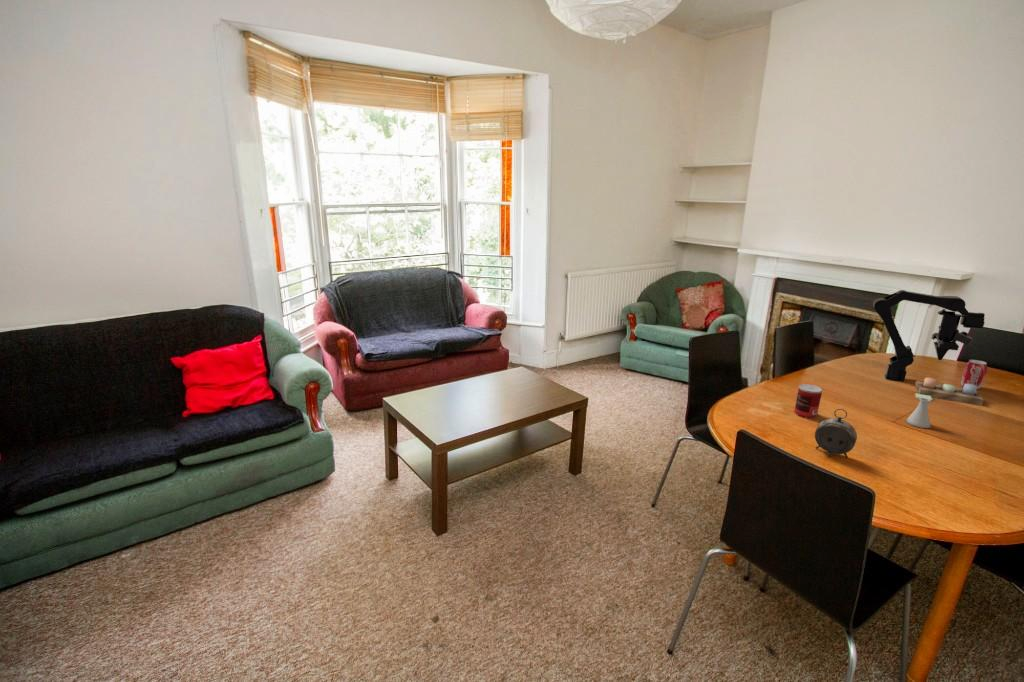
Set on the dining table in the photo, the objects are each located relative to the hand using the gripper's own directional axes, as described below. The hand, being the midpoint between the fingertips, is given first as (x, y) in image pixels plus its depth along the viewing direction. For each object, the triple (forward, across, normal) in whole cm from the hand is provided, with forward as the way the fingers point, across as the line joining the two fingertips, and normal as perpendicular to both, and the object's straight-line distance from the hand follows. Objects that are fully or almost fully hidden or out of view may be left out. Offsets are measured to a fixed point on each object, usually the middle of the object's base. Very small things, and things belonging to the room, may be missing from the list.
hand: (939, 359), depth 215 cm
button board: (+12, -12, -3) cm, 17 cm away
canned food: (+12, -67, +48) cm, 83 cm away
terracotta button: (+10, -12, +4) cm, 16 cm away
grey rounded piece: (+10, -12, -10) cm, 18 cm away
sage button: (+12, -12, -3) cm, 17 cm away
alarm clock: (+12, -98, +40) cm, 106 cm away
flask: (+12, -54, +12) cm, 57 cm away
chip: (+12, -21, +6) cm, 25 cm away
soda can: (+12, +6, -14) cm, 19 cm away
